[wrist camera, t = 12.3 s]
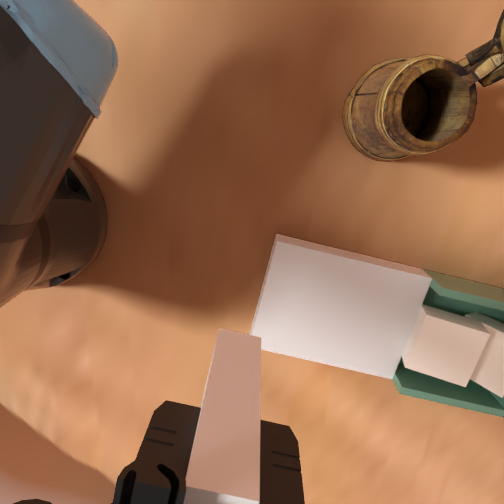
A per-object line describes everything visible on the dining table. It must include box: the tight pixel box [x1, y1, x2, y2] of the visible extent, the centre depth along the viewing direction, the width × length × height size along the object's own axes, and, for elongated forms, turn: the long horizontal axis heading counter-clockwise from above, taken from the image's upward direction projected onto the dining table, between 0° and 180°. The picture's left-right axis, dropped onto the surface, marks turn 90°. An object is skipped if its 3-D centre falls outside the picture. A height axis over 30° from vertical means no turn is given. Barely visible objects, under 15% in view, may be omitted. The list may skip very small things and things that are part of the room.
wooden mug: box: [343, 10, 504, 162], centre depth 31 cm, size 9×14×18 cm, turn 129°
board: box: [249, 234, 432, 379], centre depth 44 cm, size 16×12×3 cm
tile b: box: [465, 311, 504, 398], centre depth 43 cm, size 6×6×3 cm
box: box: [392, 269, 504, 417], centre depth 43 cm, size 12×12×6 cm
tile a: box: [402, 304, 490, 387], centre depth 42 cm, size 6×6×3 cm
